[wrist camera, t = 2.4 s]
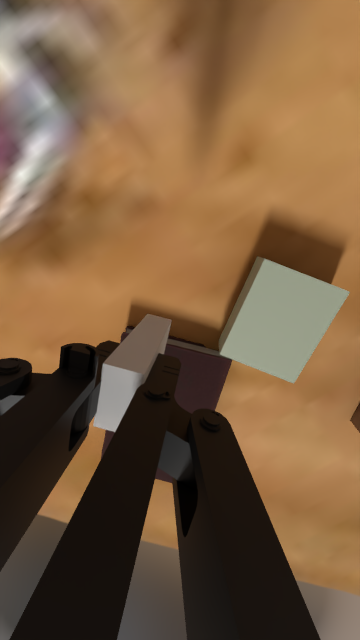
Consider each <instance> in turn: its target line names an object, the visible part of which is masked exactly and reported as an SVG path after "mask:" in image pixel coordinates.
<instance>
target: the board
mask: <svg viewBox="0 0 360 640" xmlns="http://www.w3.org/2000/svg"><path fill="white" fill-rule="evenodd" d="M350 421H351V422H352V423H353V425H354V426H355V427H356V428H357V430H358V431H359V432H360V404H359V406H358V408H357V409H356V411H355V413H354V415H353V417H352V418H351V420H350Z"/></svg>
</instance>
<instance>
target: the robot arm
mask: <svg viewBox="0 0 360 640" xmlns="http://www.w3.org/2000/svg"><path fill="white" fill-rule="evenodd" d="M171 322H172V320H171V319H167V318H163V317H159V316H155V315H151V314H147V315H146V316H145V317H144V318H143V319H142V320H141V322H140V323H139V324H138V325H137V326H136V327H135V328H134V329H133V330H132V332H131V333H130V334H129V335H128V336H127V337H126V338H125V339H124V340H123V342H122V343H121V344H120V343H116V342H112V341H106V342H103V343H100V344H99V345H98V346H97V347H96V348H95V347H94V346H91V345H88V344H83V343H72V344H66V345H64V346H62V347H61V353H60V364H59V368H58V369H57V370H56V371H55V372H53V373H52V374H42V373H32V366H31V363H29V362H28V361H26V360H23V359H18V358H6V359H0V571H1V570H2V568H3V566H4V565H5V563H6V562H7V560H8V559H9V557H10V555H11V554H12V552H13V551H14V549H15V548H16V546H17V544H18V543H19V541H20V540H21V538H22V537H23V535H24V534H25V532H26V530H27V529H28V527H29V526H30V524H31V523H32V521H33V519H34V518H35V516H36V515H37V513H38V512H39V510H40V508H41V507H42V505H43V504H44V502H45V501H46V499H47V497H48V496H49V494H50V493H51V491H52V490H53V488H54V487H55V485H56V483H57V482H58V480H59V479H60V477H61V476H62V474H63V472H64V471H65V469H66V468H67V466H68V465H69V463H70V461H71V460H72V458H73V457H74V455H75V454H76V452H77V450H78V449H79V447H80V446H81V444H82V443H83V441H84V439H85V438H86V436H87V433H88V430H89V423H90V422H91V420H92V419H93V417H94V416H95V418H94V425H93V426H95V427H99V428H102V429H106V430H109V431H113V432H115V433H114V435H113V437H112V439H111V441H110V443H109V445H108V447H107V449H106V451H105V453H104V455H103V457H102V459H101V461H100V463H99V465H98V467H97V469H96V471H95V472H94V474H93V476H92V478H91V480H90V482H89V484H88V486H87V488H86V490H85V492H84V494H83V496H82V498H81V500H80V502H79V504H78V506H77V508H76V510H75V512H74V514H73V516H72V518H71V520H70V522H69V524H68V526H67V528H66V530H65V531H64V534H63V536H62V537H61V540H60V541H59V543H58V545H57V547H56V549H55V551H54V553H53V555H52V557H51V559H50V561H49V563H48V565H47V567H46V569H45V571H44V573H43V575H42V577H41V579H40V581H39V583H38V585H37V587H36V589H35V590H34V592H33V594H32V596H31V598H30V600H29V602H28V604H27V606H26V608H25V610H24V612H23V614H22V616H21V618H20V620H19V622H18V624H17V626H16V628H15V630H14V632H13V634H12V636H11V638H10V640H117V636H118V632H119V628H120V623H121V619H122V615H123V611H124V607H125V603H126V598H127V593H128V590H129V585H130V581H131V577H132V573H133V569H134V565H135V560H136V556H137V552H138V547H139V543H140V539H141V535H142V531H143V527H144V522H145V518H146V514H147V510H148V505H149V501H150V497H151V493H152V489H153V484H154V480H155V476H156V472H157V467H158V468H160V469H161V470H163V471H164V472H166V473H167V474H169V475H170V476H172V477H173V480H172V484H173V495H174V505H175V516H176V526H177V537H178V548H179V557H180V568H181V579H182V590H183V600H184V611H185V622H186V632H187V640H320V638H319V635H318V633H317V630H316V628H315V626H314V623H313V621H312V618H311V616H310V614H309V611H308V609H307V606H306V604H305V602H304V599H303V597H302V595H301V592H300V590H299V587H298V585H297V583H296V580H295V578H294V575H293V573H292V571H291V568H290V566H289V563H288V561H287V559H286V556H285V554H284V552H283V549H282V547H281V544H280V542H279V540H278V537H277V535H276V532H275V530H274V528H273V525H272V523H271V521H270V518H269V516H268V513H267V511H266V509H265V506H264V504H263V501H262V499H261V497H260V494H259V492H258V490H257V487H256V485H255V482H254V480H253V478H252V475H251V473H250V470H249V468H248V466H247V463H246V461H245V459H244V456H243V454H242V451H241V449H240V447H239V444H238V442H237V440H236V437H235V435H234V432H233V430H232V428H231V425H230V423H229V422H228V420H227V419H226V418H225V417H224V416H223V415H221V414H220V413H218V412H216V411H214V410H210V409H197V410H195V411H194V412H193V413H190V412H188V411H186V410H185V409H183V408H182V407H181V406H179V405H178V403H177V402H176V400H175V397H174V395H175V390H176V385H177V381H178V377H179V373H180V368H181V362H180V360H179V358H176V357H172V356H168V355H164V351H165V347H166V343H167V339H168V334H169V330H170V326H171Z"/></svg>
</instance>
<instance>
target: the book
mask: <svg viewBox="0 0 360 640" xmlns="http://www.w3.org/2000/svg"><path fill="white" fill-rule="evenodd" d="M134 328H135V327H131V326H127V327H126V333H125V332H123V333H122V336H121V342H120V344H121V343H122V342H123V340H124V339H125V338H126V337H127V336H128V335H129V334H130V333H131V332H132V330H133V329H134ZM164 355H168V356H172V357H176V358H179V360H180V362H181V368H180V373H179V377H178V381H177V385H176V390H175V395H174V397H175V400H176V402H177V403H178V405H179V406H181V407H182V408H183V409H185V410H186V411H188V412H190V413H193V412H194V411H195V410H197V409H210V410H214V411H215V408H216V406H217V403H218V400H219V397H220V394H221V391H222V388H223V386H224V383H225V380H226V377H227V374H228V371H229V368H230V365H231V362H232V359H230V358H228V357H225V356H222V355H220V354H219V351H216V350H212V349H209V348H206V347H205V346H204V345H202V344H198V343H194V342H190V341H186V340H184V339H180V338H176V337H172V336H169V335H168V339H167V343H166V347H165V351H164ZM114 433H115V432H113V431H109V430H106V433H105V439H104V444H103V449H102V456H101V459H102V457H103V455H104V453H105V451H106V449H107V447H108V445H109V443H110V441H111V439H112V437H113V435H114ZM155 479H159V480H162V481H166V482H170V483H172V480H173V477H172V476H170V475H169V474H167V473H166V472H164V471H163V470H161V469H160V468H158V467H157V472H156V476H155Z"/></svg>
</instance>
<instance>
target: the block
mask: <svg viewBox="0 0 360 640" xmlns="http://www.w3.org/2000/svg"><path fill="white" fill-rule="evenodd" d="M349 293H350V292H349V291H346V290H344V289H341V288H339V287H336V286H334V285H331V284H328V283H326V282H323V281H321V280H318V279H316V278H313V277H311V276H308V275H305V274H303V273H300V272H298V271H295V270H293V269H290V268H288V267H285V266H282V265H280V264H277V263H275V262H272V261H270V260H267V259H264V258H261V257H258V256H257V258H256V260H255V262H254V265H253V267H252V269H251V271H250V273H249V276H248V278H247V280H246V282H245V284H244V286H243V289H242V291H241V293H240V295H239V297H238V299H237V302H236V304H235V306H234V308H233V310H232V312H231V315H230V317H229V319H228V321H227V323H226V325H225V328H224V330H223V332H222V334H221V336H220V338H219V354H220V355H222V356H225V357H228V358H230V359H233V360H235V361H238V362H240V363H243V364H245V365H248V366H251V367H253V368H256V369H258V370H261V371H263V372H266V373H268V374H271V375H273V376H276V377H279V378H281V379H284V380H286V381H289V382H291V383H294V382H295V381H296V379H297V377H298V376H299V374H300V373H301V371H302V369H303V368H304V366H305V364H306V363H307V361H308V360H309V358H310V356H311V355H312V353H313V351H314V350H315V348H316V347H317V345H318V343H319V342H320V340H321V338H322V337H323V335H324V334H325V332H326V330H327V329H328V327H329V325H330V324H331V322H332V320H333V319H334V317H335V316H336V314H337V312H338V311H339V309H340V307H341V306H342V304H343V303H344V301H345V299H346V298H347V296H348V294H349Z"/></svg>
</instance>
